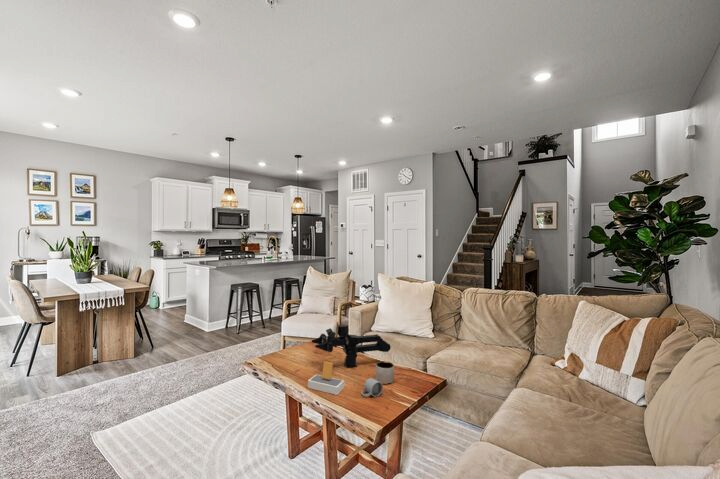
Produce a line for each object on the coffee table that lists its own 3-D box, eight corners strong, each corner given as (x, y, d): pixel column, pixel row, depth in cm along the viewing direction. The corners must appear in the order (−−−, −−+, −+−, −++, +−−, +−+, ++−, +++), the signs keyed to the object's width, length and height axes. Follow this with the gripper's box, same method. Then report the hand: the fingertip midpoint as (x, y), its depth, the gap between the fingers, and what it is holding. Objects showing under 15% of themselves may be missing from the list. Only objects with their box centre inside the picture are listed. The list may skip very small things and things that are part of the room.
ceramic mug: (373, 388, 185) (374, 375, 184) (382, 394, 178) (383, 380, 178) (358, 393, 179) (358, 379, 178) (367, 400, 172) (367, 385, 172)
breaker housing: (315, 381, 191) (316, 373, 191) (344, 387, 184) (344, 380, 184) (307, 387, 182) (308, 380, 182) (337, 394, 176) (337, 386, 176)
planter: (378, 385, 189) (379, 369, 188) (372, 377, 199) (373, 361, 199) (396, 384, 192) (396, 367, 191) (389, 376, 202) (390, 360, 202)
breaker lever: (323, 377, 185) (325, 361, 186) (331, 378, 183) (333, 363, 185) (321, 377, 183) (323, 361, 185) (329, 379, 182) (331, 363, 183)
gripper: (333, 325, 220) (310, 326, 214) (342, 333, 202) (317, 335, 197) (332, 341, 220) (309, 343, 214) (341, 351, 203) (316, 353, 197)
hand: (313, 343), depth 206 cm, fingers open, 9 cm apart
